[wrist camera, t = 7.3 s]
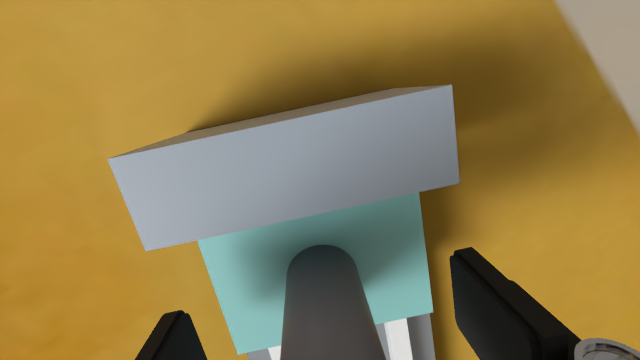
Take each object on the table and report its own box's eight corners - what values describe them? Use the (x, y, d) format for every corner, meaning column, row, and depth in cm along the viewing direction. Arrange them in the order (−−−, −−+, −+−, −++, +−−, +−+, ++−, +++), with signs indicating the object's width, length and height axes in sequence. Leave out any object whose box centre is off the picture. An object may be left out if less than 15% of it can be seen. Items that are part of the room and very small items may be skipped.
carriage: (203, 225, 13) (59, 418, 5) (409, 181, 13) (569, 308, 5) (242, 337, 15) (176, 608, 7) (424, 297, 15) (562, 524, 7)
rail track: (185, 133, 14) (107, 159, 9) (399, 86, 14) (465, 81, 9) (298, 472, 21) (296, 615, 15) (444, 440, 21) (498, 571, 15)
